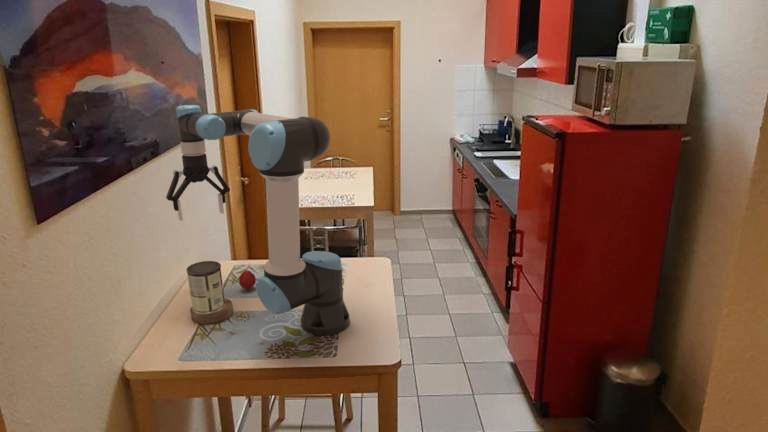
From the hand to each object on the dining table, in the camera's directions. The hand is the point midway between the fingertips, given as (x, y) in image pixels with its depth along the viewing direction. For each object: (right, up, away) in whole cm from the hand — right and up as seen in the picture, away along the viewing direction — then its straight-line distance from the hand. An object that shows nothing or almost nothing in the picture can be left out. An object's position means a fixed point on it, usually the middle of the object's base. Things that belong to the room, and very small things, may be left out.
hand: (201, 216), depth 179 cm
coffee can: (+5, -30, -7) cm, 31 cm away
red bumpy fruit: (+13, -27, +12) cm, 32 cm away
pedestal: (+6, -32, -6) cm, 33 cm away
